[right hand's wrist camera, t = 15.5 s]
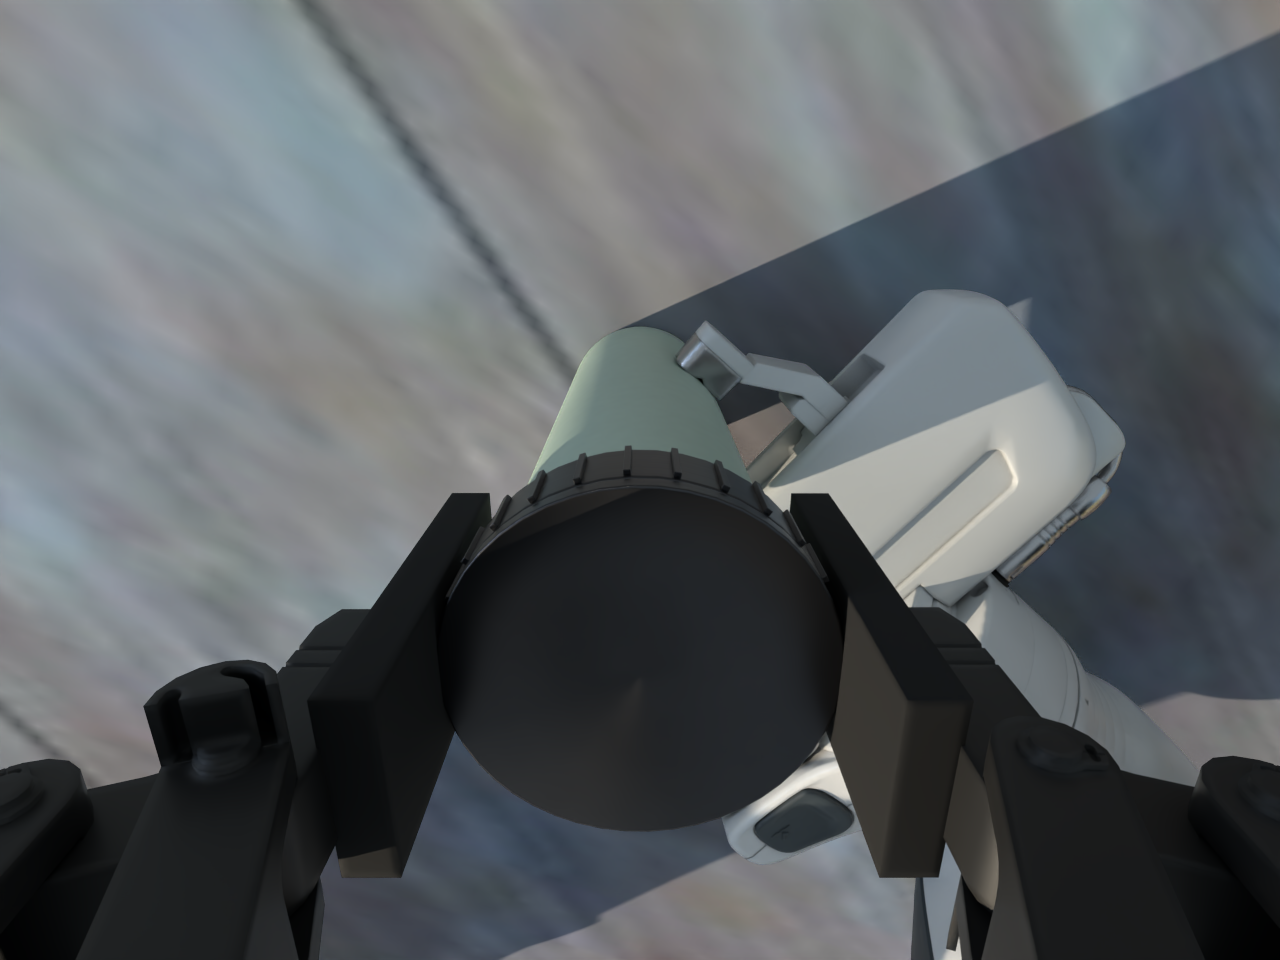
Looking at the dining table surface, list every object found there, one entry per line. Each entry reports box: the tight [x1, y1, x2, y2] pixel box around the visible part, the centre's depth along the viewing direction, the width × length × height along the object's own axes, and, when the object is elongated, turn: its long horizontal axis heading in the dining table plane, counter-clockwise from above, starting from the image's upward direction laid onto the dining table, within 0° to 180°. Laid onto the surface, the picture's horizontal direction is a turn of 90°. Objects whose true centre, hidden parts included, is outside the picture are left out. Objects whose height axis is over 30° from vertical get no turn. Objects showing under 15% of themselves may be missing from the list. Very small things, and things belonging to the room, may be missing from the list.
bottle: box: [528, 327, 752, 484], centre depth 20 cm, size 5×5×18 cm
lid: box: [437, 445, 844, 831], centre depth 11 cm, size 6×6×2 cm
